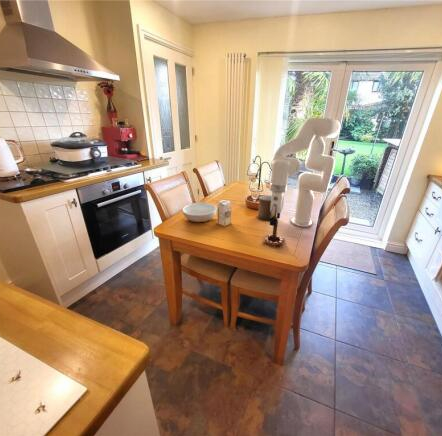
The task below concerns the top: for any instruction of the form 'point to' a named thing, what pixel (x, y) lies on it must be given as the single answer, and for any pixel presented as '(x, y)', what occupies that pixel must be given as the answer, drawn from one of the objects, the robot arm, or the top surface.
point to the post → (274, 237)
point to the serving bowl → (199, 211)
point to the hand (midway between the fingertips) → (274, 221)
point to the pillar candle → (264, 207)
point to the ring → (273, 242)
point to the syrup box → (224, 212)
